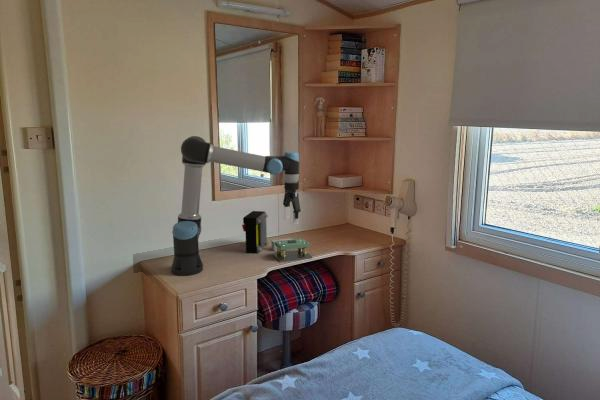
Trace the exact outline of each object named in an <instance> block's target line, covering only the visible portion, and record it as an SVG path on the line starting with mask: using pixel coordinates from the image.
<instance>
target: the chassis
mask: <svg viewBox="0 0 600 400" xmlns="http://www.w3.org/2000/svg"><path fill="white" fill-rule="evenodd" d="M299 239H300V240H301V239H302V238H299ZM279 243H281V242H279ZM304 243H305V242H304ZM282 246H284V245H282ZM272 256H273V257H274V258H275V259H276V261H278V262H279V263H286V262H292V261H293V262H294V261H301V260H302V261H303V260H309V259H313V256H312V255H311V254H310V253H308V247H304V248H297V250H296V249H295V250H289V251H288V250H280V249H279V248H278V247H277V251H276V252H272Z"/></svg>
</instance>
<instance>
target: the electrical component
mask: <svg viewBox="0 0 600 400" xmlns="http://www.w3.org/2000/svg"><path fill="white" fill-rule="evenodd" d="M268 216H269V214H268V213H267V212H266V211H263V210H261V211H260V210H252V211H250V212H249V213H248V214H246V215H245V216H244V217H243V218H242V220H243V221H242V225H241V227H242V230H243V232H245V253H246V254H253V255H254V254H255V255H257V254H259V253H260V252H262V250H263V249H264V248H265V247H266V245H269V240H268V239H267V238H268V237H267V236H268V235H267V233H268V232H267V230H268V229H267V218H269V217H268Z"/></svg>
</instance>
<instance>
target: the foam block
mask: <svg viewBox="0 0 600 400" xmlns="http://www.w3.org/2000/svg"><path fill="white" fill-rule="evenodd" d="M292 239H293V238H290V237H289V238H282V239H272V240H271V250H272V251H273V252H277V246H276V245H275V241H283V240H292ZM288 250H289V251H291V249H287V250H286V251H288Z"/></svg>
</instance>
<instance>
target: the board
mask: <svg viewBox="0 0 600 400" xmlns="http://www.w3.org/2000/svg"><path fill="white" fill-rule="evenodd" d="M300 239H301V240H300ZM279 242H281V243H279ZM304 242H305V243H304ZM275 245H276V246H277V247H278V248H279V249H280V250H286V251H288V250H287V249H290V250H296V249H298V248H304V247H307V248H310V242H308V241H307V240H306V239H304V238H292V240H283V241H275ZM282 245H284V246H282Z"/></svg>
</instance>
